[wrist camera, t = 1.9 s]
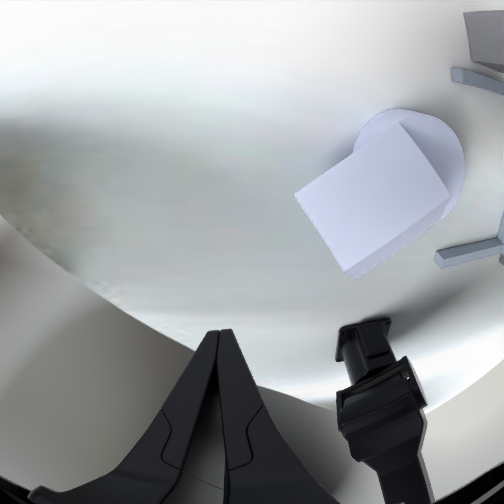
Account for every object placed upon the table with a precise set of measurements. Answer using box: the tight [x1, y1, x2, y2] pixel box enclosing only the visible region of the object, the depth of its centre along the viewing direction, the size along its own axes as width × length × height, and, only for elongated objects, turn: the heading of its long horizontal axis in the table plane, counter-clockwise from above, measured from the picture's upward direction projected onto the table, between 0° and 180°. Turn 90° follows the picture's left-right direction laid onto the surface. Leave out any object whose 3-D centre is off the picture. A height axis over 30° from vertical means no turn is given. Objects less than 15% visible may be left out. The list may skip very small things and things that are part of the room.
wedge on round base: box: [294, 109, 465, 280], centre depth 17 cm, size 9×7×13 cm
